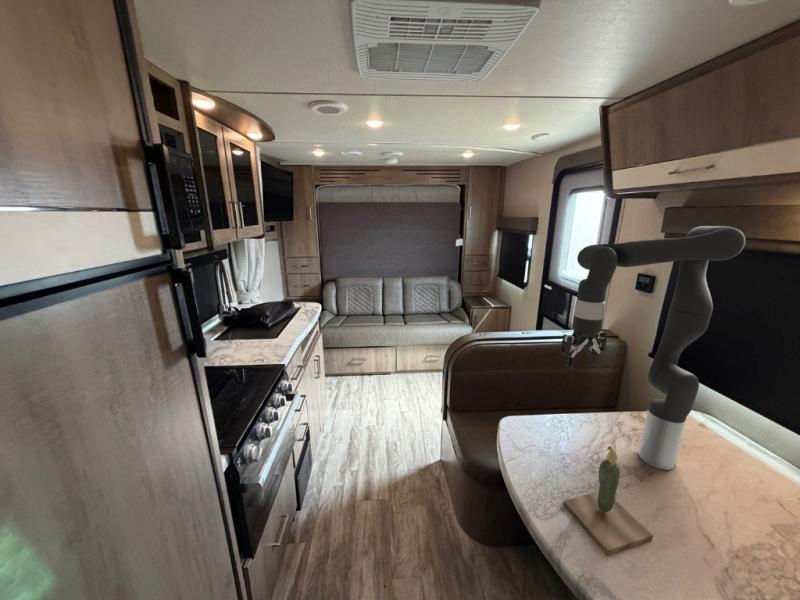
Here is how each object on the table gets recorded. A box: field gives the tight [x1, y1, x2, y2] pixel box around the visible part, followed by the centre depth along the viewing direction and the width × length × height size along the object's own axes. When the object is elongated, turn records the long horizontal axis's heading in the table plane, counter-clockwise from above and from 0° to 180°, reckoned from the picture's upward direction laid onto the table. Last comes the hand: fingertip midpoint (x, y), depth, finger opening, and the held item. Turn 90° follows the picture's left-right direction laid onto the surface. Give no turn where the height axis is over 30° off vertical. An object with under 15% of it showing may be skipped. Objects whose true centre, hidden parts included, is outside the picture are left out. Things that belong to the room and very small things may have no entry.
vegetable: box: [597, 445, 621, 512], centre depth 81 cm, size 4×4×20 cm
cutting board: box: [562, 490, 654, 556], centre depth 82 cm, size 14×14×2 cm
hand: (580, 365), depth 95 cm, fingers open, 8 cm apart
